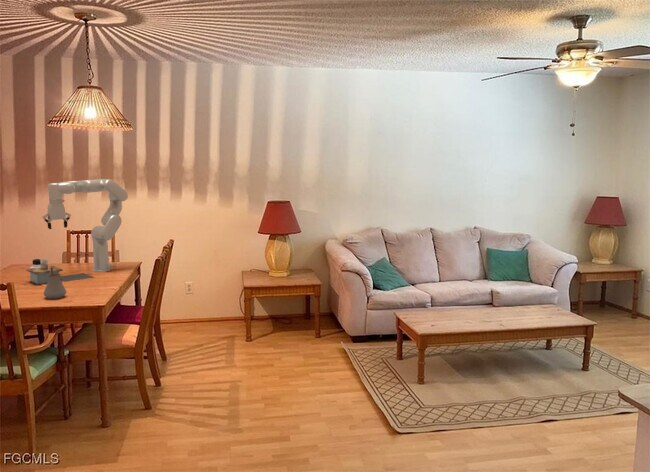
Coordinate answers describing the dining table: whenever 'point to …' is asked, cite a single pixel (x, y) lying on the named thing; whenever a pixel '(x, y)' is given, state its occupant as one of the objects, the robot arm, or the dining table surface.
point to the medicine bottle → (36, 263)
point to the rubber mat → (75, 277)
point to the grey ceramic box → (40, 278)
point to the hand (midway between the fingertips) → (57, 228)
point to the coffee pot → (54, 286)
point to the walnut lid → (44, 268)
